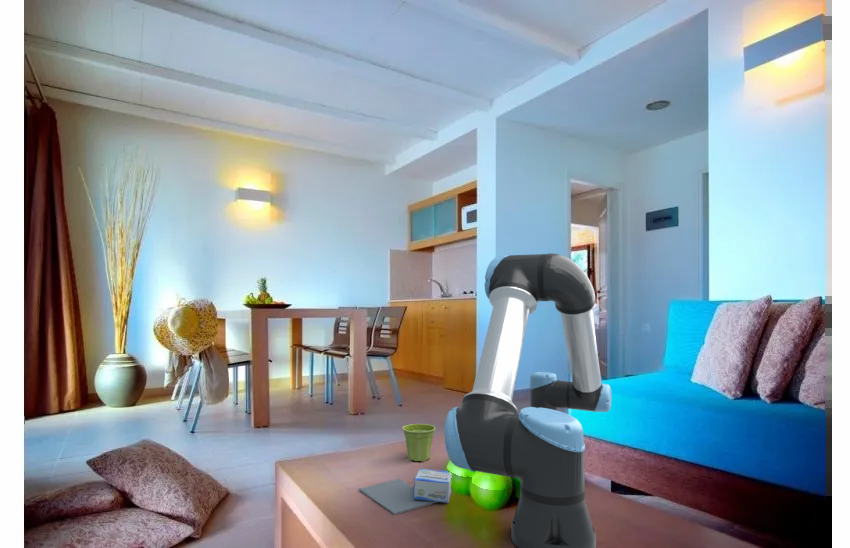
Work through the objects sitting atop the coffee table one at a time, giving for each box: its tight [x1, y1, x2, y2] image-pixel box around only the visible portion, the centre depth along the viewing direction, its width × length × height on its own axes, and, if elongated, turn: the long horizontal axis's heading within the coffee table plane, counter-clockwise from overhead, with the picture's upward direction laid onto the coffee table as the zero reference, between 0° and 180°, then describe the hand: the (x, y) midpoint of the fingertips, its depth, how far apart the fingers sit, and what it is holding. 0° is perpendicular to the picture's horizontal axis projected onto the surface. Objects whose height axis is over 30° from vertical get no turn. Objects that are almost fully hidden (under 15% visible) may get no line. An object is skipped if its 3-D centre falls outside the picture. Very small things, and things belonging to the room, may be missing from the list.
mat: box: [358, 478, 437, 516], centre depth 110 cm, size 16×11×1 cm
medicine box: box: [413, 468, 453, 504], centre depth 110 cm, size 8×4×9 cm
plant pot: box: [401, 423, 436, 462], centre depth 137 cm, size 9×9×9 cm
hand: (452, 447), depth 120 cm, fingers closed
